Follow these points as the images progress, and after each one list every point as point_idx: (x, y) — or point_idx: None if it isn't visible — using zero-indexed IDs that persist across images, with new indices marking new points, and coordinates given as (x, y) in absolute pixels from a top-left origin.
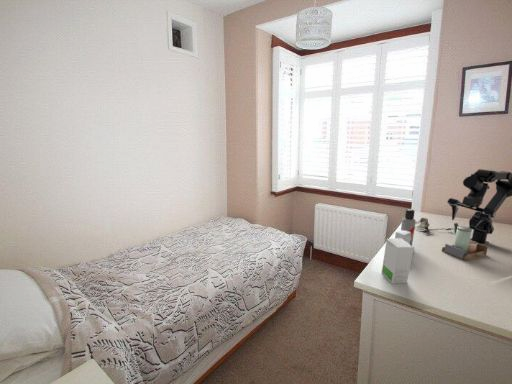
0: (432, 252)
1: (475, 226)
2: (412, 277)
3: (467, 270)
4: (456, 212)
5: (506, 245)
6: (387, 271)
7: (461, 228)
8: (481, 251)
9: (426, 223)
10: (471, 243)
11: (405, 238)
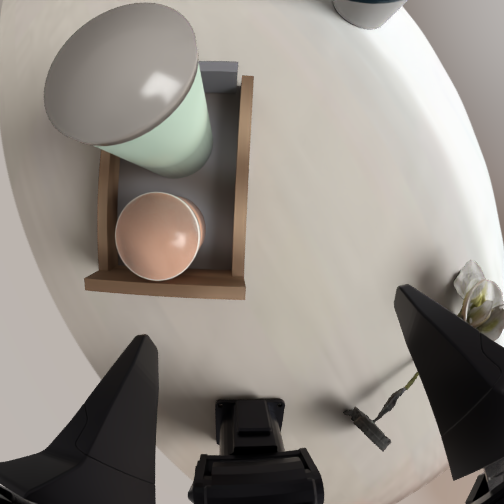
0: (271, 50)
1: (134, 346)
2: None
3: None
4: (443, 412)
5: (176, 463)
6: None
7: (126, 19)
8: (107, 246)
9: (477, 316)
10: (136, 212)
11: None
